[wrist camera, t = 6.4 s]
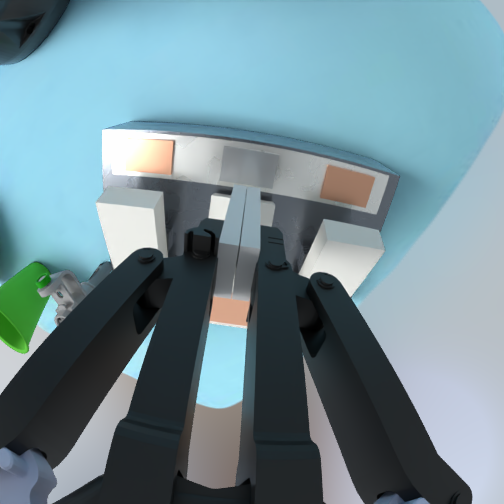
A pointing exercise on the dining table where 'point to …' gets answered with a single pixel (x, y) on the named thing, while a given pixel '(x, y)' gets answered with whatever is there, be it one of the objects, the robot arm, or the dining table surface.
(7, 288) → the cup
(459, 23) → the dining table surface
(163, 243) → the block
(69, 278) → the mechanical component
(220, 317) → the rocker
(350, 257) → the block
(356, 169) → the console
